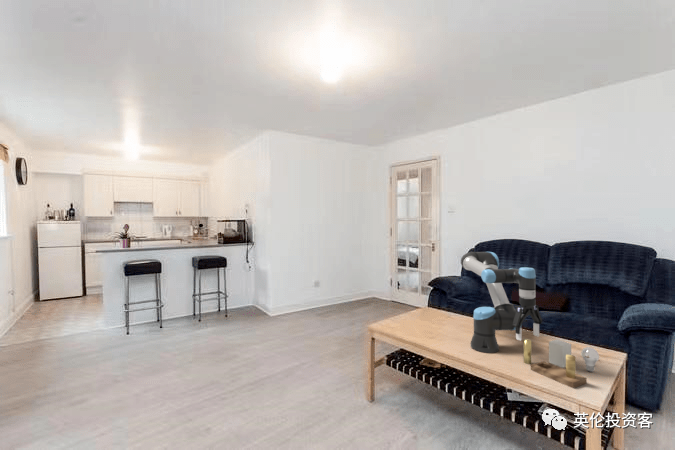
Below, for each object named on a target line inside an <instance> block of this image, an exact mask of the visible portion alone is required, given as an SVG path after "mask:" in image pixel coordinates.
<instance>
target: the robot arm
mask: <svg viewBox="0 0 675 450" xmlns="http://www.w3.org/2000/svg"><path fill="white" fill-rule="evenodd" d="M460 264H461V266H462V268H463V269H465V270H466V271H471V272H473V273H475V274H476V275H478V276H479V277H481V280H482V282H483V283H485V284H486V286H487V289H488V292H489V295H490V298H491V301H492V304H493V306H492V307H491V306H479V307H477V308H475V309H474V310H473V316H472V317H473V335H472V338H471V340H470V348H471V349H472V350H474V349H475V351H477V352H479V353H487V354H488V353H489V354H494V353H497V352H499V350H500V346H499V343H498V341H497V337H496V331H511V332H512V331H515V339H516V340H517V341H520V342H521V341H522V340H523V338H522V337H523V333H522V331H523V330H522V329H523V328H522V326H523V323H524V321H525V319H526V318H527V317H528V316H530V318H531V319H532V321H533V324H532V326H533V328H532V329H533V332H532V335H533V336H535V337H538V338H539V337H540V325H542V323H543V318H542V315H541V313H540V311H539V305H537V303H536V302H537V301H536V294H537V293H536V288H537V287H536V285H537V284H536V283H537V281H536V277H537V275H536V270H535V268H533V267H526V266H524V267H519V268H513V267H510V268H505V269H504V268H500V269H499V267H500V259H499V257H498V255H497V254H496V253H495V252H492V251H469V252H466V253H464V254H463V256H461V258H460ZM513 283H514V284H518V296H519V298H518V301H519V302H518V303H519V305H520V307H516V308H515V306H514V304H513V303H510V301H509V298H508V296H507V293H506V291H505V289H504V287H503V284H513ZM522 342H523V341H522Z"/></svg>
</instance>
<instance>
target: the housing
mask: <svg viewBox="0 0 675 450" xmlns="http://www.w3.org/2000/svg"><path fill="white" fill-rule="evenodd" d="M566 355H572V343H569V342H567V341H563V340H560V339H558V338H557V339H554V340H550V341H548V363H550V364H552V365H555V366H557V367H560V368H563V369H565V368H566Z"/></svg>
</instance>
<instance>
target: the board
mask: <svg viewBox="0 0 675 450" xmlns="http://www.w3.org/2000/svg"><path fill="white" fill-rule="evenodd" d="M530 371H532V372H535V373H538V374H540V375H542V376H544V377H546V378H549V379H552V380H553V381H556V382H558V383H561V384H562V385H565V386H567V387H570V388H572V389H575V388H578V387H581V386H584V385H586V384H587V383H588V382H587V381H588V380H587V377H585V376H582V375H581V374H578V373H576V356H575V355H572V354H571V355H566V367H565V368H562V367H560V366H557V365H554V364H552V363H549V362H547V361H545V360H543V361H540V362H536V363H535V362H534V363H533V364H532V363H531V364H530Z"/></svg>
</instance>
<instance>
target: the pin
mask: <svg viewBox="0 0 675 450" xmlns="http://www.w3.org/2000/svg"><path fill="white" fill-rule="evenodd" d="M522 340H523V341H522V342H523V349H522V350H523V351H522V352H523V363H524V364H525V365H532V339H528V338H524V339H523V338H522Z"/></svg>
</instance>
